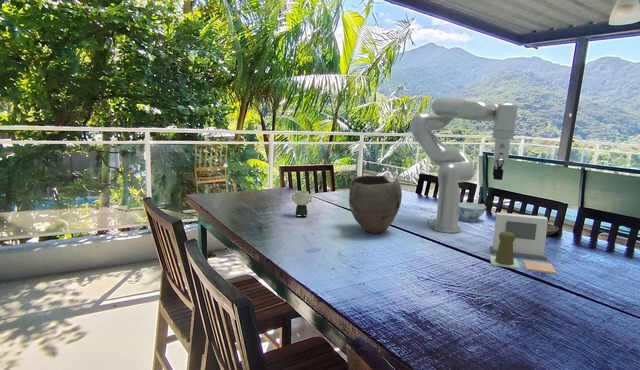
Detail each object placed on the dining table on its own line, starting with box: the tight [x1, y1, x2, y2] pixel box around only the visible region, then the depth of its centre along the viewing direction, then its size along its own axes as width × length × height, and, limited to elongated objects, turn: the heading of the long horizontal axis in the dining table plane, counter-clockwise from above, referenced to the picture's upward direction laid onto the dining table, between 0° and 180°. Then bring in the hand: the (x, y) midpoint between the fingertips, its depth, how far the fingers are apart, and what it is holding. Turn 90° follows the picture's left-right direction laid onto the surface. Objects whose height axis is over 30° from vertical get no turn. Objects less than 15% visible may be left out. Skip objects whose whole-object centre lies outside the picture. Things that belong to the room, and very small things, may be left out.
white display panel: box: [489, 211, 549, 261], centre depth 146 cm, size 19×6×15 cm, turn 69°
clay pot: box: [348, 175, 403, 234], centre depth 171 cm, size 24×24×25 cm
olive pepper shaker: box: [495, 231, 515, 265], centre depth 136 cm, size 6×6×11 cm
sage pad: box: [489, 255, 521, 270], centre depth 138 cm, size 9×9×1 cm
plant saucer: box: [546, 222, 559, 237], centre depth 181 cm, size 21×21×3 cm
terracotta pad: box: [522, 259, 557, 275], centre depth 134 cm, size 9×9×1 cm
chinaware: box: [459, 201, 487, 222], centre depth 199 cm, size 15×15×8 cm
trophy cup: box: [291, 190, 313, 216], centre depth 197 cm, size 11×7×13 cm, turn 69°
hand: (497, 177), depth 155 cm, fingers open, 9 cm apart
